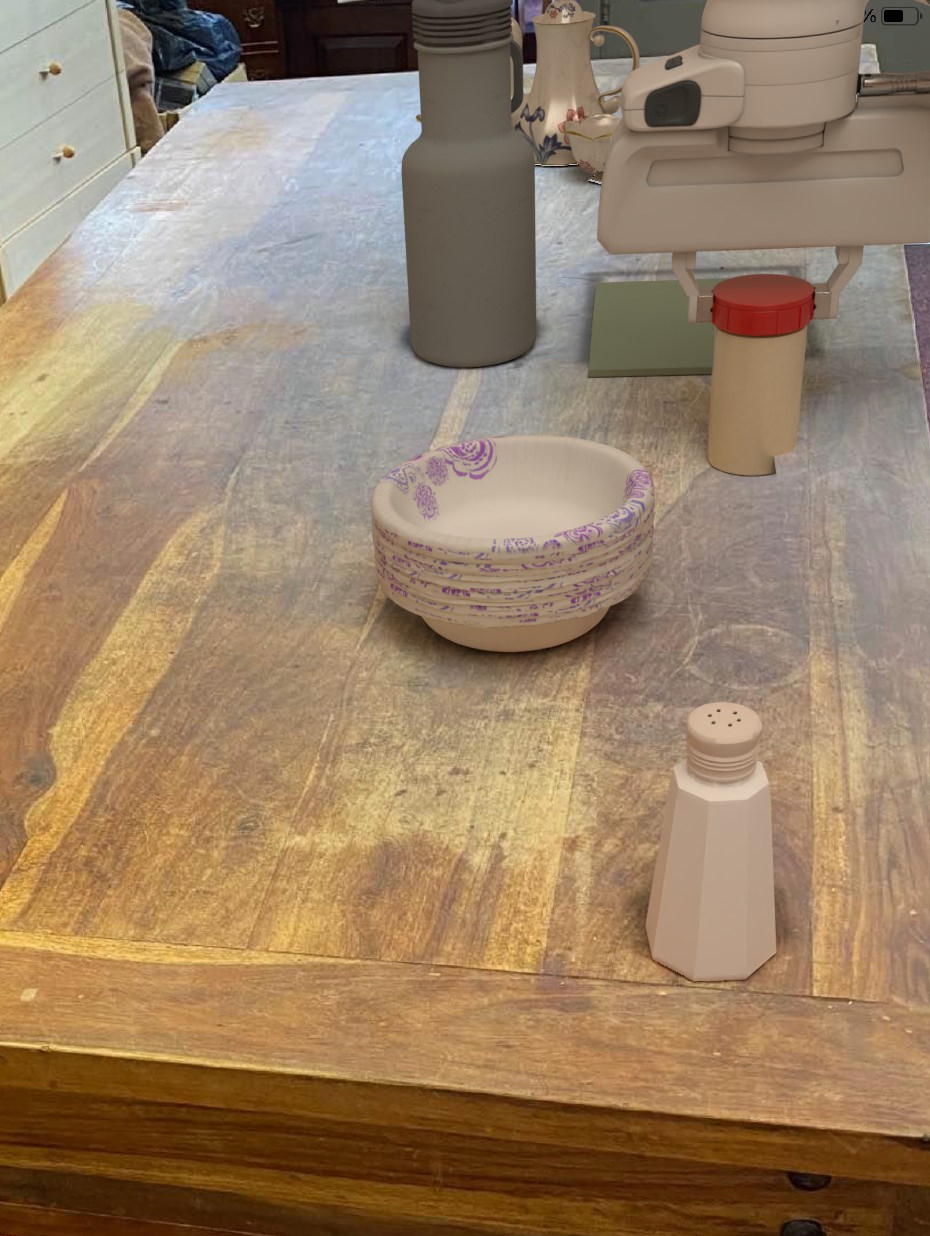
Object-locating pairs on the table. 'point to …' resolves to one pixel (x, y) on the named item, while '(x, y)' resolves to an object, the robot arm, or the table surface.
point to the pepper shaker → (715, 853)
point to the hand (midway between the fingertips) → (760, 318)
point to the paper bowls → (514, 538)
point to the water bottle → (469, 190)
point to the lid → (762, 304)
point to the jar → (754, 400)
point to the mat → (648, 331)
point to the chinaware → (567, 91)
